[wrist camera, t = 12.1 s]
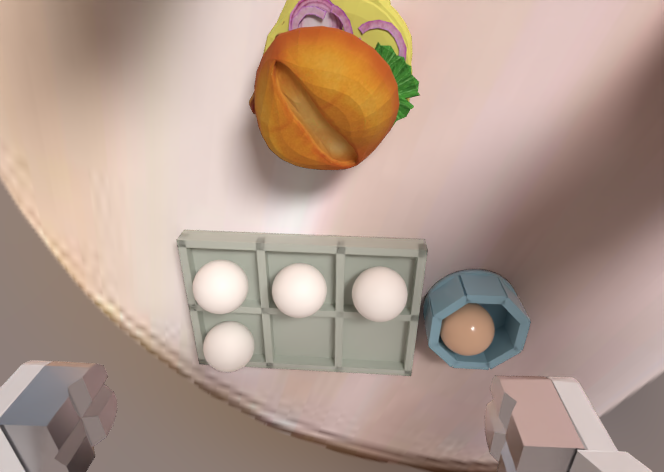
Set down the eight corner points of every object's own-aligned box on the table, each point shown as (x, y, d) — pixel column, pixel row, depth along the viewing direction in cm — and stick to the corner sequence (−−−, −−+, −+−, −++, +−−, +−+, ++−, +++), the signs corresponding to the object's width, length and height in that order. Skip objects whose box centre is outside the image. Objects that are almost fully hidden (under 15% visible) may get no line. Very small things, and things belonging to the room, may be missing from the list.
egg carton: (425, 239, 37) (433, 274, 33) (409, 362, 44) (414, 405, 39) (184, 229, 38) (159, 262, 34) (205, 351, 45) (186, 392, 40)
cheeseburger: (446, 14, 29) (456, 73, 22) (375, 142, 36) (363, 219, 29) (305, -60, 27) (263, -23, 20) (259, 89, 34) (215, 156, 27)
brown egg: (503, 299, 38) (494, 332, 34) (493, 340, 40) (484, 374, 36) (449, 285, 39) (436, 314, 36) (442, 324, 42) (429, 356, 38)
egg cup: (526, 271, 38) (541, 296, 35) (506, 344, 42) (518, 373, 39) (428, 267, 38) (434, 291, 35) (418, 340, 42) (422, 367, 39)
